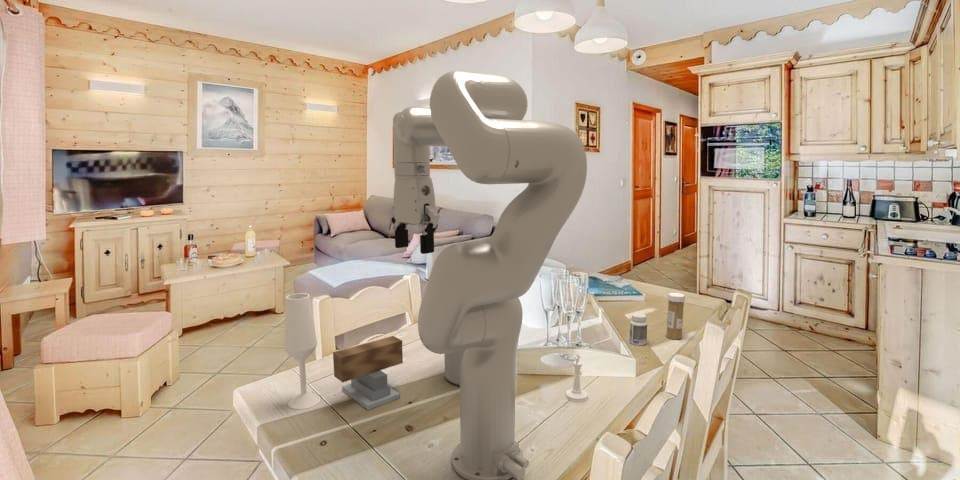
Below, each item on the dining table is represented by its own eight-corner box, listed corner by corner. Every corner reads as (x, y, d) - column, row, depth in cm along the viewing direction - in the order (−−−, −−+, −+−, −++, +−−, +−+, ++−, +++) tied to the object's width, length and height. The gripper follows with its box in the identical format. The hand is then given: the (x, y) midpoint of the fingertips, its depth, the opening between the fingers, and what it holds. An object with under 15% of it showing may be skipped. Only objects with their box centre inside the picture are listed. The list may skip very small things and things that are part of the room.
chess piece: (590, 395, 108) (592, 353, 107) (582, 404, 104) (584, 360, 103) (570, 389, 111) (571, 348, 109) (561, 398, 107) (562, 355, 105)
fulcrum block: (399, 397, 107) (399, 372, 106) (367, 410, 102) (366, 383, 101) (373, 380, 116) (372, 356, 115) (342, 390, 111) (341, 365, 110)
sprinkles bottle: (683, 340, 142) (686, 296, 139) (667, 339, 142) (670, 295, 140) (679, 335, 146) (682, 292, 144) (664, 334, 147) (666, 291, 145)
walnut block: (393, 357, 114) (392, 335, 113) (402, 363, 111) (402, 340, 110) (334, 376, 104) (333, 352, 103) (342, 382, 101) (341, 357, 101)
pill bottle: (649, 343, 139) (651, 315, 138) (638, 346, 137) (640, 318, 135) (636, 338, 143) (638, 311, 142) (625, 341, 141) (627, 314, 139)
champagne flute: (325, 394, 109) (319, 292, 105) (312, 409, 102) (305, 301, 98) (297, 393, 109) (290, 291, 105) (282, 408, 103) (274, 300, 99)
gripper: (451, 171, 98) (452, 253, 101) (404, 170, 111) (406, 243, 114) (421, 172, 93) (423, 257, 96) (376, 171, 106) (378, 247, 109)
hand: (414, 250), depth 105 cm, fingers open, 9 cm apart
